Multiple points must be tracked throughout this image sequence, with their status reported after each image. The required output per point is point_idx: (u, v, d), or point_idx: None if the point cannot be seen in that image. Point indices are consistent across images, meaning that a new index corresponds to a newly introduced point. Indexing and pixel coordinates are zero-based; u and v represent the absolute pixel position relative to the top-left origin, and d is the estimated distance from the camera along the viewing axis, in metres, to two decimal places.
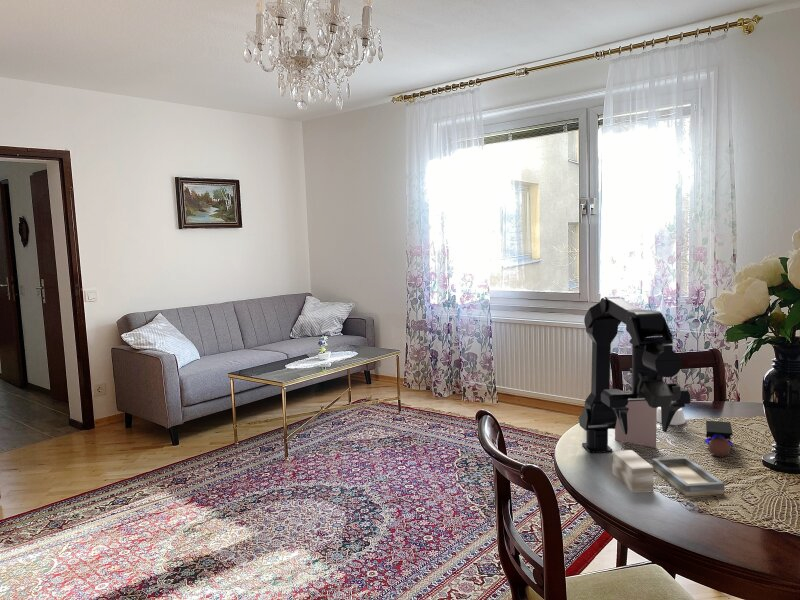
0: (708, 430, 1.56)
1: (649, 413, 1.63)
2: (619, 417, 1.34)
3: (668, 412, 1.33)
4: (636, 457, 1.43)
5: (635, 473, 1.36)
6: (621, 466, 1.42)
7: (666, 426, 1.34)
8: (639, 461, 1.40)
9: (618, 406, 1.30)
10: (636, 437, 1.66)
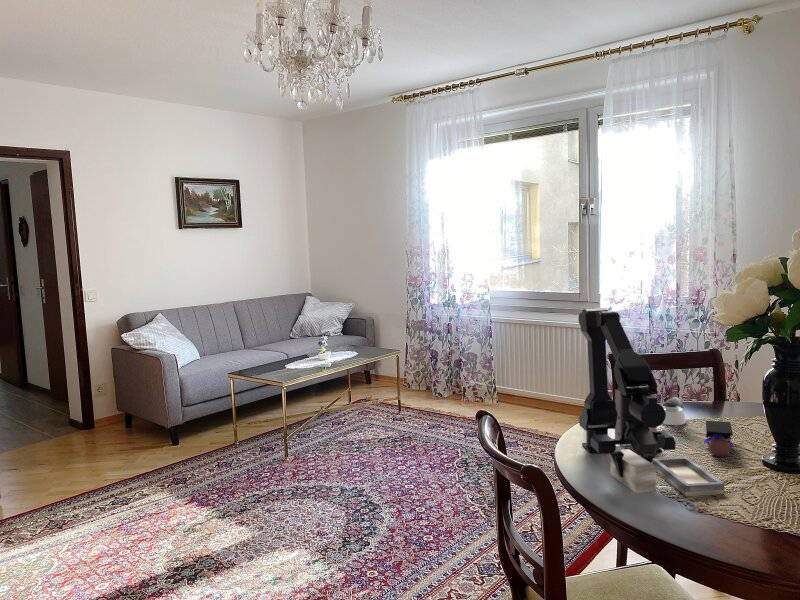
0: (708, 430, 1.56)
1: None
2: (615, 460, 1.42)
3: (647, 457, 1.41)
4: (635, 456, 1.43)
5: (639, 473, 1.36)
6: None
7: None
8: (639, 460, 1.41)
9: (606, 452, 1.38)
10: None
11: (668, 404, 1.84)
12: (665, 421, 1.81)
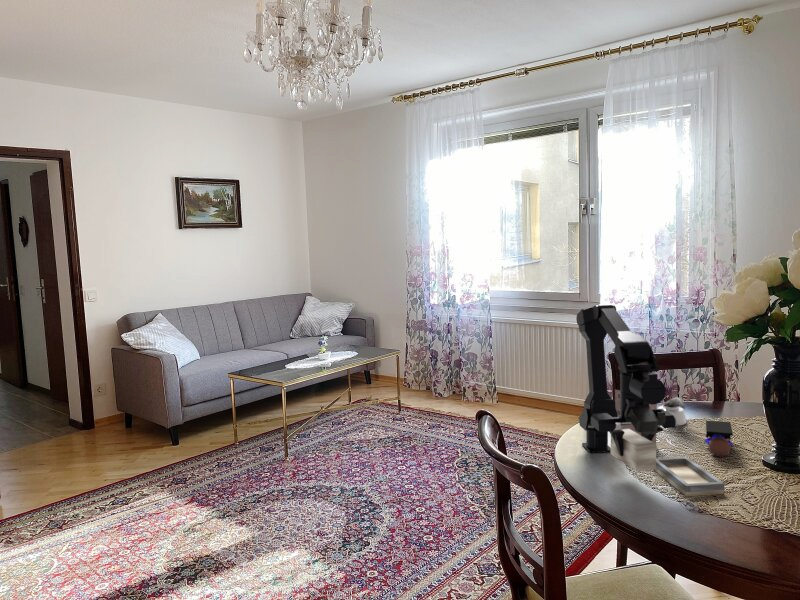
0: (708, 430, 1.56)
1: None
2: (615, 439, 1.42)
3: (647, 436, 1.40)
4: (636, 435, 1.42)
5: (639, 451, 1.36)
6: None
7: None
8: (640, 438, 1.40)
9: (607, 430, 1.37)
10: None
11: (668, 404, 1.83)
12: None
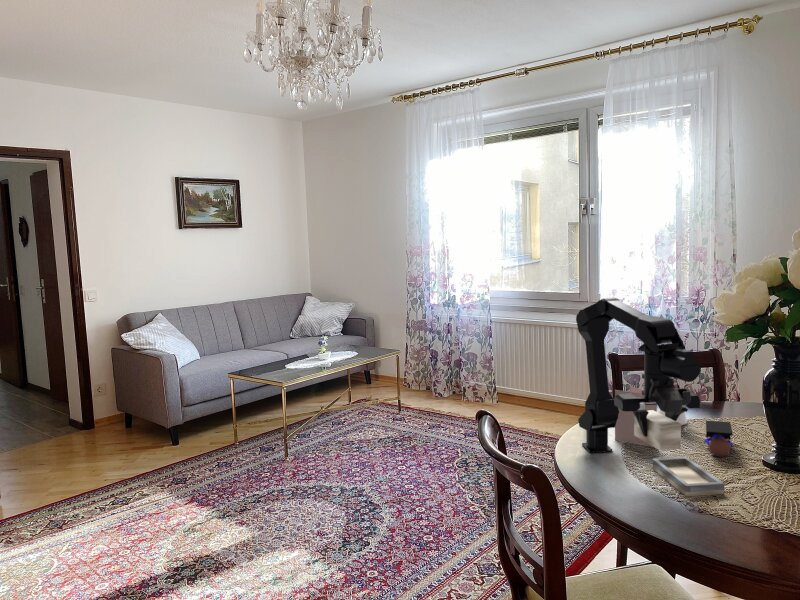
0: (708, 430, 1.56)
1: None
2: (639, 420, 1.41)
3: (671, 416, 1.39)
4: (660, 416, 1.41)
5: (663, 430, 1.35)
6: None
7: None
8: (664, 419, 1.39)
9: (630, 410, 1.37)
10: (636, 437, 1.66)
11: None
12: None
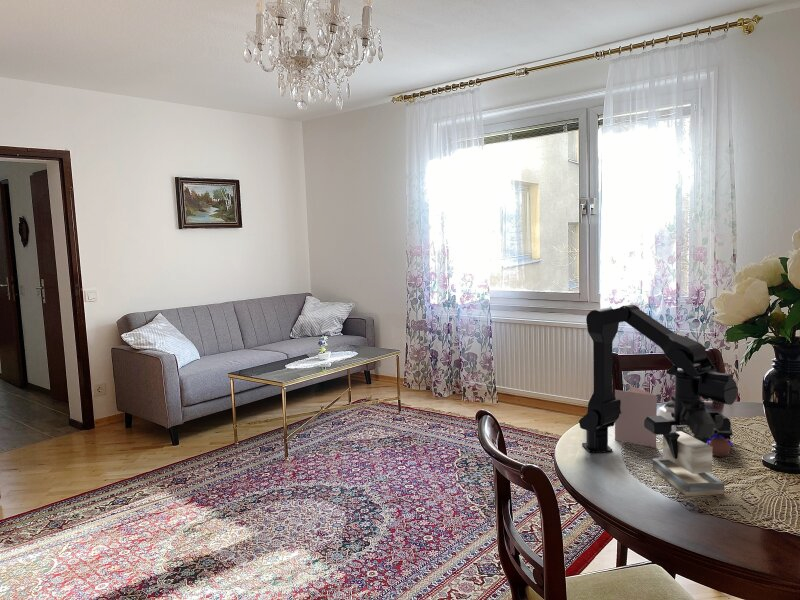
0: None
1: (649, 413, 1.63)
2: (669, 442, 1.41)
3: (702, 438, 1.40)
4: (690, 438, 1.42)
5: (696, 453, 1.35)
6: None
7: None
8: (695, 441, 1.40)
9: (662, 433, 1.37)
10: (636, 437, 1.66)
11: (669, 405, 1.83)
12: None
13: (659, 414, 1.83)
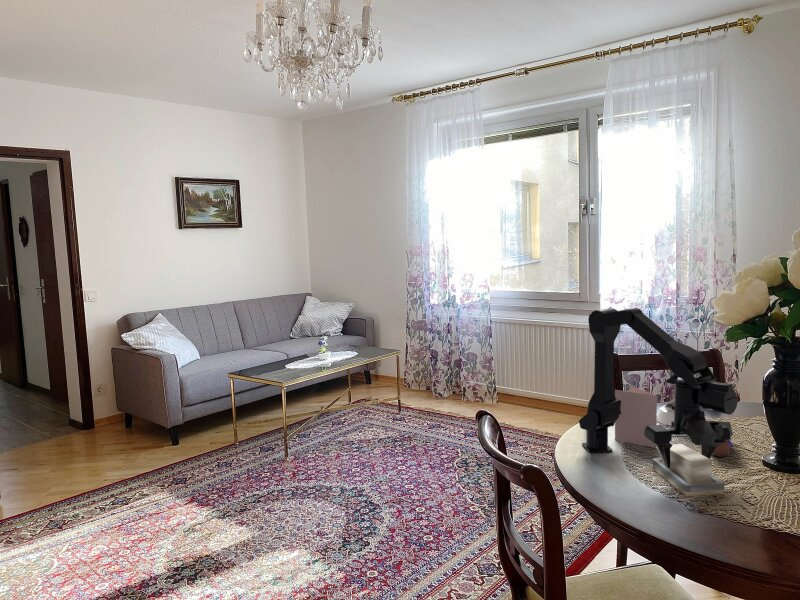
0: None
1: (649, 413, 1.63)
2: (662, 451, 1.42)
3: (709, 447, 1.40)
4: (689, 451, 1.42)
5: (695, 467, 1.36)
6: (676, 460, 1.41)
7: None
8: (694, 454, 1.40)
9: (662, 442, 1.37)
10: (636, 437, 1.66)
11: (670, 405, 1.83)
12: (668, 422, 1.80)
13: (660, 414, 1.83)
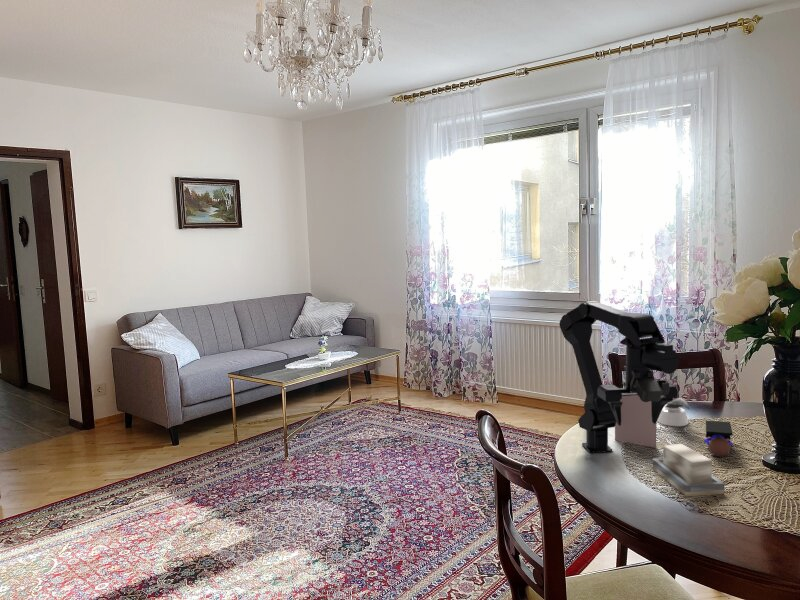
0: (708, 430, 1.56)
1: (649, 413, 1.63)
2: (613, 410, 1.49)
3: (658, 405, 1.48)
4: (689, 451, 1.42)
5: (695, 467, 1.36)
6: (676, 460, 1.41)
7: (655, 418, 1.48)
8: (694, 454, 1.40)
9: (613, 400, 1.44)
10: (636, 437, 1.66)
11: (670, 405, 1.82)
12: (668, 422, 1.80)
13: (660, 415, 1.83)
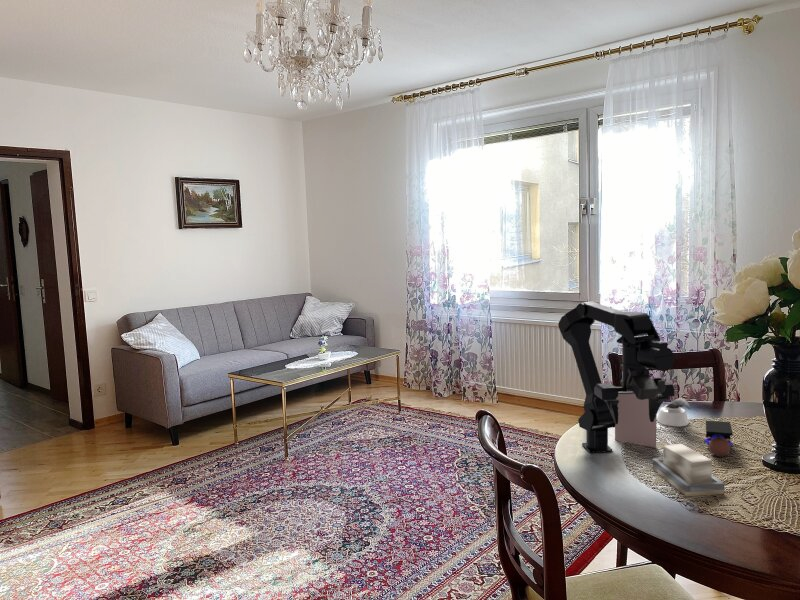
0: (708, 430, 1.56)
1: None
2: (610, 408, 1.49)
3: (654, 404, 1.48)
4: (689, 451, 1.42)
5: (695, 467, 1.36)
6: (676, 460, 1.41)
7: (653, 417, 1.49)
8: (694, 454, 1.40)
9: (609, 398, 1.45)
10: (636, 437, 1.66)
11: (671, 405, 1.82)
12: (669, 422, 1.80)
13: (661, 415, 1.83)
